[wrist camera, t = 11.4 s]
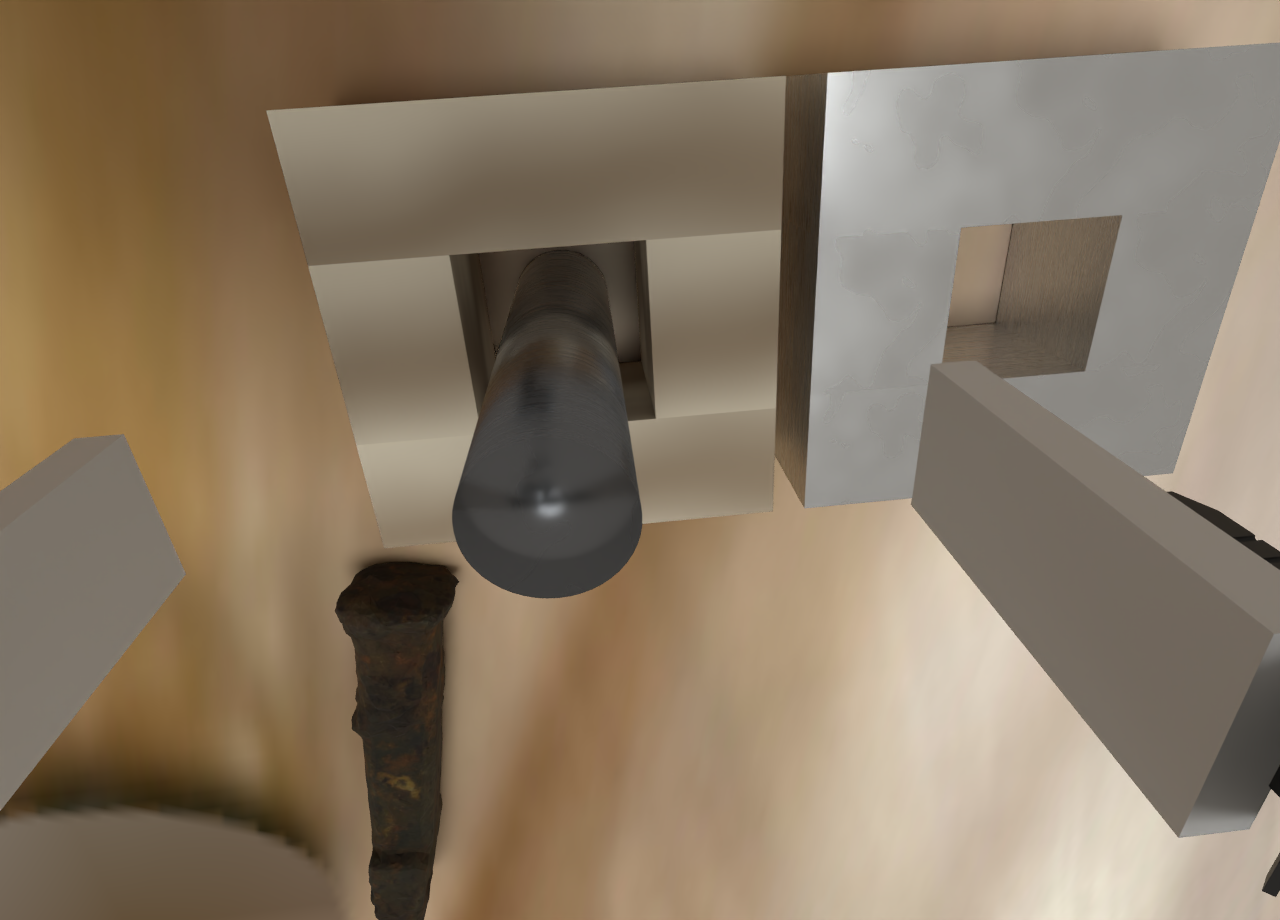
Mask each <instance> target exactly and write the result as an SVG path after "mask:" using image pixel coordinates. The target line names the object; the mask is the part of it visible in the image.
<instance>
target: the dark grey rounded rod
mask: <svg viewBox="0 0 1280 920" xmlns="http://www.w3.org/2000/svg"><path fill="white" fill-rule="evenodd" d="M452 524H453V532H454V535H455V539H456V542H457V544H458V546H459V548H460V550H461V552H462V554H463V555H464V557H465V558H466V560H467V561H468V562H469V564H470V565H471V566H472V567H473V568H474V569H475V570H476V571H477V572H478V573H479V574H480V575H481V576H483V577H484V578H485V579H487V580H488V581H490V582H491V583H493V584H495V585H497V586H498V587H500V588H502V589H505V590H507V591H510V592H512V593H516V594H519V595H523V596H529V597H535V598H561V597H568V596H573V595H577V594H580V593H583V592H586V591H589V590H591V589H593V588H595V587H597V586H599V585H601V584H603V583H604V582H606V581H607V580H609V579H610V578H612V577H613V576H614V575H615V574H616V573H618V572H619V571H620V570H621V569H622V568H623V566H624V565H625V564H626V563H627V562H628V560H629V559H630V557H631V556H632V554H633V553H634V551H635V548H636V546H637V544H638V541H639V538H640V535H641V529H642V508H641V502H640V495H639V489H638V483H637V476H636V470H635V463H634V457H633V451H632V444H631V438H630V431H629V425H628V419H627V412H626V406H625V400H624V393H623V387H622V380H621V374H620V368H619V361H618V355H617V349H616V342H615V336H614V329H613V323H612V317H611V310H610V304H609V297H608V291H607V286H606V282H605V280H604V277H603V275H602V273H601V272H600V270H599V269H598V268H597V266H596V265H595V264H594V263H593V262H592V261H590V260H589V259H588V258H586V257H585V256H583V255H581V254H578V253H576V252H572V251H567V250H555V251H550V252H547V253H544V254H542V255H540V256H538V257H536V258H535V259H534V260H532V261H531V262H530V263H529V264H528V265H527V266H526V268H525V269H524V271H523V272H522V274H521V276H520V279H519V282H518V285H517V289H516V292H515V296H514V299H513V302H512V306H511V309H510V313H509V316H508V319H507V323H506V326H505V329H504V333H503V336H502V340H501V343H500V346H499V350H498V353H497V357H496V360H495V363H494V367H493V370H492V374H491V377H490V380H489V384H488V387H487V390H486V394H485V397H484V401H483V404H482V407H481V411H480V414H479V418H478V421H477V424H476V428H475V431H474V435H473V438H472V441H471V445H470V448H469V451H468V455H467V458H466V462H465V465H464V468H463V472H462V475H461V479H460V482H459V485H458V489H457V492H456V496H455V499H454V504H453V509H452Z"/></svg>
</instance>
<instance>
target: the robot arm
mask: <svg viewBox="0 0 1280 920" xmlns="http://www.w3.org/2000/svg"><path fill="white" fill-rule="evenodd" d="M911 505H912V506H913V508H914V509H915V510H916V511H917V513H918V514H919V515H920V516H921V518H922V519H923V520H924V521H925V522H926V524H927V525H928V526H929V527H930V529H931V530H932V531H933V532H934V534H935V535H936V536H937V537H938V539H939V540H940V541H941V542H942V544H943V545H944V546H945V547H946V549H947V550H948V551H949V552H950V554H951V555H952V556H953V557H954V559H955V560H956V561H957V562H958V564H959V565H960V566H961V567H962V569H963V570H964V571H965V572H966V574H967V575H968V576H969V577H970V579H971V580H972V581H973V582H974V584H975V585H976V586H977V587H978V588H979V590H980V591H981V592H982V593H983V595H984V596H985V597H986V598H987V600H988V601H989V602H990V603H991V605H992V606H993V607H994V608H995V610H996V611H997V612H998V613H999V615H1000V616H1001V617H1002V618H1003V620H1004V621H1005V622H1006V623H1007V625H1008V626H1009V627H1010V628H1011V630H1012V631H1013V632H1014V633H1015V635H1016V636H1017V637H1018V638H1019V640H1020V641H1021V642H1022V643H1023V645H1024V646H1025V647H1026V648H1027V650H1028V651H1029V652H1030V653H1031V654H1032V656H1033V657H1034V658H1035V659H1036V661H1037V662H1038V663H1039V664H1040V666H1041V667H1042V668H1043V669H1044V671H1045V672H1046V673H1047V674H1048V676H1049V677H1050V678H1051V679H1052V681H1053V682H1054V683H1055V684H1056V686H1057V687H1058V688H1059V689H1060V691H1061V692H1062V693H1063V694H1064V696H1065V697H1066V698H1067V699H1068V701H1069V702H1070V703H1071V704H1072V706H1073V707H1074V708H1075V709H1076V711H1077V712H1078V713H1079V714H1080V716H1081V717H1082V718H1083V719H1084V721H1085V722H1086V723H1087V724H1088V725H1089V727H1090V728H1091V729H1092V730H1093V732H1094V733H1095V734H1096V735H1097V737H1098V738H1099V739H1100V740H1101V742H1102V743H1103V744H1104V745H1105V747H1106V748H1107V749H1108V750H1109V752H1110V753H1111V754H1112V755H1113V757H1114V758H1115V759H1116V760H1117V762H1118V763H1119V764H1120V765H1121V767H1122V768H1123V769H1124V770H1125V772H1126V773H1127V774H1128V775H1129V777H1130V778H1131V779H1132V780H1133V782H1134V783H1135V784H1136V785H1137V787H1138V788H1139V789H1140V790H1141V791H1142V793H1143V794H1144V795H1145V796H1146V798H1147V799H1148V800H1149V801H1150V803H1151V804H1152V805H1153V806H1154V808H1155V809H1156V810H1157V811H1158V813H1159V814H1160V815H1161V816H1162V818H1163V819H1164V820H1165V821H1166V823H1167V824H1168V825H1169V826H1170V828H1171V829H1172V830H1173V831H1174V833H1175V834H1176V835H1177V836H1178V838H1181V837H1189V836H1198V835H1206V834H1214V833H1223V832H1231V831H1239V830H1247V829H1250V827H1251V825H1252V823H1253V821H1254V820H1255V818H1256V816H1257V814H1258V812H1259V810H1260V808H1261V806H1262V805H1263V803H1264V801H1265V799H1266V797H1267V795H1268V793H1269V792H1270V790H1271V789H1272V790H1273V791H1274V792H1275V793H1276V794H1277V795H1278V796H1279V797H1280V551H1278V550H1277V549H1275V548H1274V547H1272V546H1271V545H1269V544H1268V543H1266V542H1265V541H1263V540H1258V541H1257V540H1256V539H1255V535H1254V534H1253V533H1251V532H1250V531H1248V530H1247V529H1245V528H1244V527H1242V526H1241V525H1239V524H1238V523H1236V522H1235V521H1233V520H1232V519H1230V518H1229V517H1227V516H1225V515H1224V514H1222V513H1221V512H1219V511H1218V510H1215V509H1213V508H1211V507H1208V506H1206V505H1203V504H1201V503H1199V502H1196V501H1194V500H1191V499H1189V498H1187V497H1184V496H1182V495H1179V494H1177V493H1174V492H1172V491H1171V492H1166V491H1164V490H1163V489H1161V488H1160V487H1158V486H1157V485H1155V484H1154V483H1153V482H1151V481H1150V480H1148V479H1147V478H1145V477H1144V476H1142V475H1141V474H1140V473H1138V472H1137V471H1135V470H1134V469H1132V468H1131V467H1129V466H1128V465H1126V464H1125V463H1124V462H1122V461H1121V460H1119V459H1118V458H1116V457H1115V456H1113V455H1112V454H1111V453H1109V452H1108V451H1106V450H1105V449H1103V448H1102V447H1100V446H1099V445H1097V444H1096V443H1095V442H1093V441H1092V440H1090V439H1089V438H1087V437H1086V436H1084V435H1083V434H1081V433H1080V432H1079V431H1077V430H1076V429H1074V428H1073V427H1071V426H1070V425H1068V424H1067V423H1066V422H1064V421H1063V420H1061V419H1060V418H1058V417H1057V416H1055V415H1054V414H1052V413H1051V412H1050V411H1048V410H1047V409H1045V408H1044V407H1042V406H1041V405H1039V404H1038V403H1037V402H1035V401H1034V400H1032V399H1031V398H1029V397H1028V396H1026V395H1025V394H1023V393H1022V392H1021V391H1019V390H1018V389H1016V388H1015V387H1013V386H1012V385H1010V384H1009V383H1008V382H1006V381H1005V380H1003V379H1002V378H1000V377H999V376H997V375H996V374H994V373H993V372H992V371H990V370H989V369H987V368H986V367H984V366H983V365H981V364H980V363H979V362H977V361H976V360H974V361H962V362H951V363H939V364H931V367H930V374H929V381H928V388H927V395H926V402H925V409H924V417H923V424H922V431H921V438H920V445H919V452H918V459H917V466H916V473H915V480H914V488H913V495H912V502H911ZM185 575H186V574H185V571H184V569H183V567H182V565H181V562H180V560H179V558H178V555H177V553H176V551H175V549H174V546H173V544H172V542H171V540H170V537H169V535H168V533H167V531H166V528H165V526H164V524H163V522H162V519H161V517H160V515H159V513H158V510H157V508H156V506H155V504H154V501H153V499H152V497H151V495H150V492H149V490H148V488H147V486H146V483H145V481H144V479H143V477H142V474H141V472H140V470H139V468H138V465H137V463H136V461H135V459H134V456H133V454H132V452H131V449H130V447H129V445H128V443H127V440H126V438H125V436H124V434H121V435H110V436H98V437H87V438H75V439H73V440H71V441H70V442H69V443H67V444H66V445H64V446H63V447H62V448H60V449H59V450H57V451H56V452H55V453H53V454H52V455H50V456H49V457H48V458H46V459H45V460H43V461H42V462H41V463H39V464H38V465H36V466H35V467H34V468H32V469H31V470H29V471H28V472H27V473H25V474H24V475H22V476H21V477H20V478H18V479H17V480H15V481H14V482H13V483H11V484H10V485H8V486H7V487H6V488H4V489H3V490H1V491H0V810H1V809H2V808H3V807H4V805H5V804H6V803H7V801H8V800H9V799H10V798H11V796H12V795H13V794H14V792H15V791H16V790H17V789H18V787H19V786H20V785H21V784H22V782H23V781H24V780H25V778H26V777H27V776H28V775H29V773H30V772H31V771H32V770H33V768H34V767H35V766H36V764H37V763H38V762H39V761H40V759H41V758H42V757H43V756H44V754H45V753H46V752H47V750H48V749H49V748H50V747H51V745H52V744H53V743H54V742H55V740H56V739H57V738H58V736H59V735H60V734H61V733H62V731H63V730H64V729H65V728H66V726H67V725H68V724H69V722H70V721H71V720H72V719H73V717H74V716H75V715H76V713H77V712H78V711H79V710H80V708H81V707H82V706H83V705H84V703H85V702H86V701H87V699H88V698H89V697H90V696H91V694H92V693H93V692H94V691H95V689H96V688H97V687H98V685H99V684H100V683H101V682H102V680H103V679H104V678H105V677H106V675H107V674H108V673H109V671H110V670H111V669H112V668H113V666H114V665H115V664H116V663H117V661H118V660H119V659H120V657H121V656H122V655H123V654H124V652H125V651H126V650H127V649H128V647H129V646H130V645H131V643H132V642H133V641H134V640H135V638H136V637H137V636H138V635H139V633H140V632H141V631H142V629H143V628H144V627H145V626H146V624H147V623H148V622H149V620H150V619H151V618H152V617H153V615H154V614H155V613H156V612H157V610H158V609H159V608H160V606H161V605H162V604H163V603H164V601H165V600H166V599H167V598H168V596H169V595H170V594H171V592H172V591H173V590H174V589H175V587H176V586H177V585H178V584H179V582H180V581H181V580H182V578H183V577H184V576H185ZM1262 891H1263V892H1266V893H1268V894H1270V895H1272V896H1275V897H1276V896H1277V894H1278V892H1279V891H1280V853H1279V855H1278V857H1277V858H1276V860H1275V862H1274V864H1273V865H1272V867H1271V869H1270V870H1269V872H1268V874H1267V876H1266V879H1265V883H1264V886H1263V889H1262Z"/></svg>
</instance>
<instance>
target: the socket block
mask: <svg viewBox="0 0 1280 920" xmlns="http://www.w3.org/2000/svg"><path fill="white" fill-rule="evenodd" d="M1279 141H1280V43H1268V44H1253V45H1238V46H1223V47H1208V48H1193V49H1178V50H1163V51H1148V52H1133V53H1118V54H1104V55H1089V56H1074V57H1059V58H1044V59H1029V60H1014V61H999V62H984V63H969V64H954V65H939V66H924V67H909V68H894V69H880V70H865V71H850V72H835V73H821V74H810V75H798V76H786V90H785V123H784V157H783V190H782V223H781V257H780V290H779V324H778V357H777V391H776V424H775V456H776V458H777V460H778V462H779V464H780V465H781V467H782V469H783V471H784V473H785V474H786V476H787V478H788V480H789V482H790V483H791V485H792V487H793V489H794V490H795V492H796V494H797V496H798V498H799V499H800V501H801V503H802V505H803V507H804V508H813V507H823V506H834V505H844V504H855V503H865V502H876V501H886V500H897V499H907V498H912V495H913V488H914V480H915V473H916V466H917V459H918V452H919V445H920V438H921V431H922V424H923V417H924V409H925V402H926V395H927V388H928V381H929V374H930V367H931V364H939V363H951V362H962V361H974V360H976V361H977V362H979V363H980V364H981V365H983V366H984V367H986V368H987V369H989V370H990V371H992V372H993V373H994V374H996V375H997V376H999V377H1000V378H1002V379H1003V380H1005V381H1006V382H1008V383H1009V384H1010V385H1012V386H1013V387H1015V388H1016V389H1018V390H1019V391H1021V392H1022V393H1023V394H1025V395H1026V396H1028V397H1029V398H1031V399H1032V400H1034V401H1035V402H1037V403H1038V404H1039V405H1041V406H1042V407H1044V408H1045V409H1047V410H1048V411H1050V412H1051V413H1052V414H1054V415H1055V416H1057V417H1058V418H1060V419H1061V420H1063V421H1064V422H1066V423H1067V424H1068V425H1070V426H1071V427H1073V428H1074V429H1076V430H1077V431H1079V432H1080V433H1081V434H1083V435H1084V436H1086V437H1087V438H1089V439H1090V440H1092V441H1093V442H1095V443H1096V444H1097V445H1099V446H1100V447H1102V448H1103V449H1105V450H1106V451H1108V452H1109V453H1111V454H1112V455H1113V456H1115V457H1116V458H1118V459H1119V460H1121V461H1122V462H1124V463H1125V464H1126V465H1128V466H1129V467H1131V468H1132V469H1134V470H1135V471H1137V472H1138V473H1140V474H1141V475H1142V476H1149V475H1159V474H1170V473H1173V471H1174V468H1175V465H1176V462H1177V459H1178V456H1179V453H1180V450H1181V447H1182V443H1183V440H1184V437H1185V434H1186V431H1187V428H1188V425H1189V422H1190V418H1191V415H1192V412H1193V409H1194V406H1195V403H1196V400H1197V397H1198V394H1199V390H1200V387H1201V384H1202V381H1203V378H1204V375H1205V372H1206V369H1207V366H1208V362H1209V359H1210V356H1211V353H1212V350H1213V347H1214V344H1215V341H1216V337H1217V334H1218V331H1219V328H1220V325H1221V322H1222V319H1223V316H1224V313H1225V309H1226V306H1227V303H1228V300H1229V297H1230V294H1231V291H1232V288H1233V284H1234V281H1235V278H1236V275H1237V272H1238V269H1239V266H1240V263H1241V260H1242V256H1243V253H1244V250H1245V247H1246V244H1247V241H1248V238H1249V235H1250V232H1251V228H1252V225H1253V222H1254V219H1255V216H1256V213H1257V210H1258V207H1259V203H1260V200H1261V197H1262V194H1263V191H1264V188H1265V185H1266V182H1267V179H1268V175H1269V172H1270V169H1271V166H1272V163H1273V160H1274V157H1275V154H1276V150H1277V147H1278V144H1279ZM1001 224H1013V227H1012V233H1011V239H1010V245H1009V251H1008V256H1007V262H1006V268H1005V274H1004V279H1003V285H1002V291H1001V297H1000V303H999V308H998V314H997V320H996V323H991V324H980V325H968V326H956V327H947V324H948V317H949V310H950V303H951V295H952V288H953V281H954V274H955V267H956V260H957V253H958V246H959V239H960V232H961V228H962V227H975V226H988V225H1001Z"/></svg>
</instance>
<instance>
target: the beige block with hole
mask: <svg viewBox="0 0 1280 920" xmlns="http://www.w3.org/2000/svg"><path fill="white" fill-rule="evenodd" d="M785 90H786V76H775V77H760V78H745V79H730V80H715V81H700V82H685V83H670V84H655V85H641V86H626V87H611V88H596V89H581V90H566V91H551V92H536V93H521V94H506V95H491V96H476V97H461V98H446V99H431V100H416V101H402V102H387V103H372V104H357V105H342V106H327V107H312V108H297V109H282V110H267V115H268V119H269V123H270V126H271V130H272V134H273V137H274V141H275V145H276V149H277V152H278V156H279V160H280V163H281V167H282V171H283V175H284V178H285V182H286V186H287V189H288V193H289V197H290V201H291V204H292V208H293V212H294V215H295V219H296V223H297V227H298V230H299V234H300V238H301V241H302V245H303V249H304V253H305V256H306V260H307V264H308V267H309V271H310V275H311V279H312V282H313V286H314V290H315V293H316V297H317V301H318V305H319V308H320V312H321V316H322V319H323V323H324V327H325V331H326V334H327V338H328V342H329V345H330V349H331V353H332V357H333V360H334V364H335V368H336V371H337V375H338V379H339V383H340V386H341V390H342V394H343V397H344V401H345V405H346V409H347V412H348V416H349V420H350V423H351V427H352V431H353V435H354V438H355V442H356V446H357V449H358V453H359V457H360V461H361V464H362V468H363V472H364V475H365V479H366V483H367V487H368V490H369V494H370V498H371V501H372V505H373V509H374V513H375V516H376V520H377V524H378V527H379V531H380V535H381V539H382V542H383V546H384V548H393V547H403V546H414V545H424V544H435V543H445V542H456V539H455V535H454V532H453V524H452V509H453V504H454V499H455V496H456V492H457V489H458V485H459V482H460V479H461V475H462V472H463V468H464V465H465V462H466V458H467V455H468V451H469V448H470V445H471V441H472V438H473V435H474V431H475V428H476V424H477V421H478V418H479V414H480V411H481V407H482V404H483V401H484V397H485V394H486V390H487V387H488V384H489V380H490V377H491V374H492V370H493V367H494V363H495V353H494V347H493V341H492V335H491V328H490V322H489V316H488V310H487V303H486V297H485V291H484V285H483V278H482V272H481V266H480V260H479V254H478V253H484V252H497V251H510V250H523V249H536V248H549V247H562V246H575V245H588V244H601V243H614V242H627V241H634V251H635V267H636V283H637V299H638V316H639V332H640V348H641V361H638V362H626V363H619V368H620V374H621V380H622V387H623V393H624V400H625V406H626V412H627V419H628V425H629V431H630V438H631V444H632V451H633V457H634V463H635V470H636V476H637V483H638V489H639V495H640V502H641V508H642V524H645V523H655V522H666V521H676V520H687V519H697V518H708V517H718V516H729V515H739V514H750V513H760V512H771V511H773V491H774V458H775V424H776V391H777V357H778V324H779V290H780V257H781V223H782V190H783V157H784V123H785Z"/></svg>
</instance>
